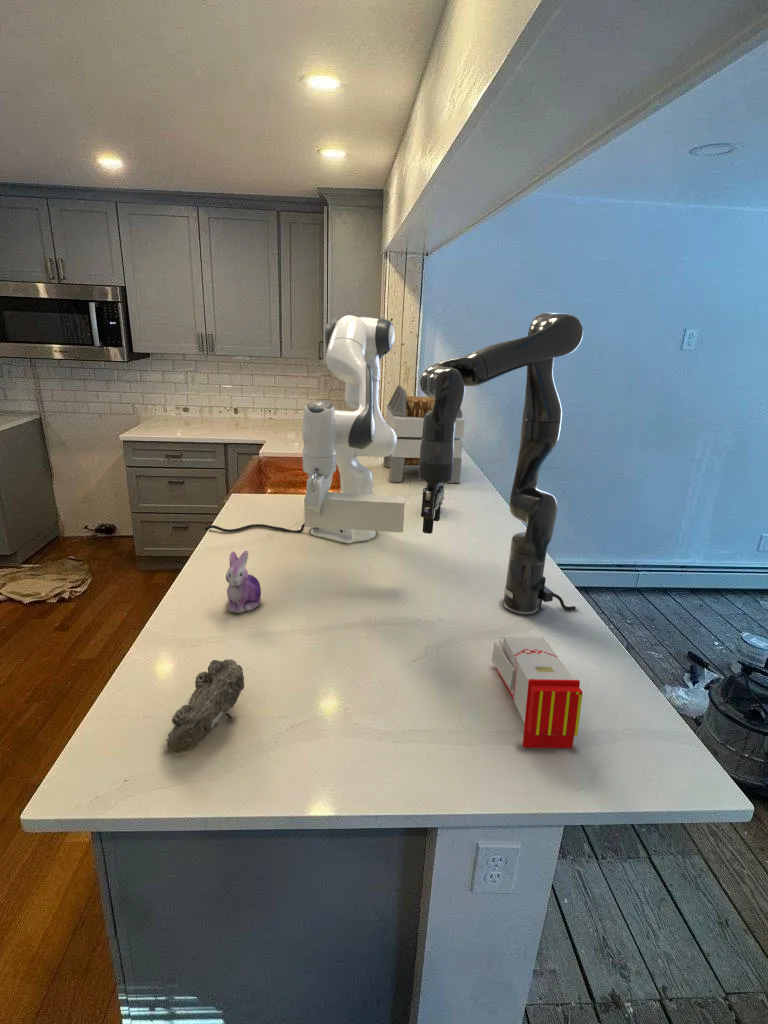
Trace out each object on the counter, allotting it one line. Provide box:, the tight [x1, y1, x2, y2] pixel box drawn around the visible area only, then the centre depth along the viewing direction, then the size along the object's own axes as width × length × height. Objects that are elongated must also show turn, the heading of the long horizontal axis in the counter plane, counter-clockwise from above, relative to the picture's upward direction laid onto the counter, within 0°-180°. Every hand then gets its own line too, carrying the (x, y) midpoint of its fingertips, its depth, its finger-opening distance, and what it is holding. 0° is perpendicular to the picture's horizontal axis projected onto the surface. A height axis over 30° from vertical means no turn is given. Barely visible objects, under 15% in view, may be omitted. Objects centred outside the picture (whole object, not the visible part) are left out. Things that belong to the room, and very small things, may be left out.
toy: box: [491, 636, 583, 749], centre depth 115 cm, size 12×13×30 cm
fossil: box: [166, 658, 245, 754], centre depth 106 cm, size 22×10×15 cm
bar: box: [303, 491, 406, 533], centre depth 154 cm, size 27×6×8 cm, turn 87°
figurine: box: [225, 550, 262, 614], centre depth 146 cm, size 9×10×15 cm
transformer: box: [383, 384, 465, 484], centre depth 268 cm, size 34×33×41 cm
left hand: (319, 512), depth 155 cm, fingers closed on bar, 5 cm apart
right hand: (431, 526), depth 131 cm, fingers open, 8 cm apart
